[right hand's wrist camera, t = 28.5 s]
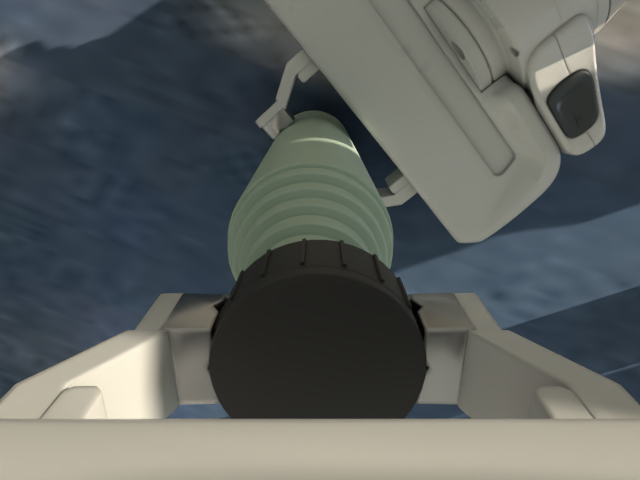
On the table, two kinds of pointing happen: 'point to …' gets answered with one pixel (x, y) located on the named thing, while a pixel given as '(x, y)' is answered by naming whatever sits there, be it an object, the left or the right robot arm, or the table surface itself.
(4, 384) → the table surface
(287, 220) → the bottle
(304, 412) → the cap
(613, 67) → the table surface
